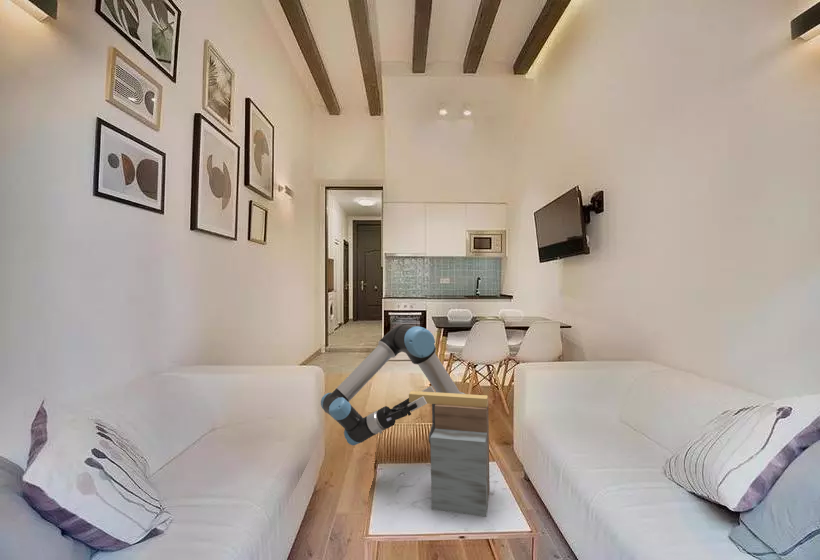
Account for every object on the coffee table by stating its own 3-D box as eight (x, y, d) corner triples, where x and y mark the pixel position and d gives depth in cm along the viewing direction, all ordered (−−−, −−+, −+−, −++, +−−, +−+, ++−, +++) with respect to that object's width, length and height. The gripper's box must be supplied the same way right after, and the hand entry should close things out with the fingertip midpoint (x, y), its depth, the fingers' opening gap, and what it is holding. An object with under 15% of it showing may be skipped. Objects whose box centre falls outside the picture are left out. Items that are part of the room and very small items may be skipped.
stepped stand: (440, 484, 149) (438, 399, 149) (489, 490, 145) (488, 402, 144) (431, 509, 134) (429, 413, 134) (486, 516, 129) (484, 417, 129)
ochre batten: (411, 398, 150) (411, 390, 150) (488, 403, 142) (487, 395, 142) (408, 402, 146) (408, 393, 146) (487, 407, 139) (486, 398, 138)
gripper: (396, 417, 162) (440, 393, 157) (375, 442, 138) (426, 415, 133) (387, 400, 163) (431, 376, 158) (364, 422, 139) (415, 395, 134)
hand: (429, 394), depth 146 cm, fingers open, 13 cm apart
